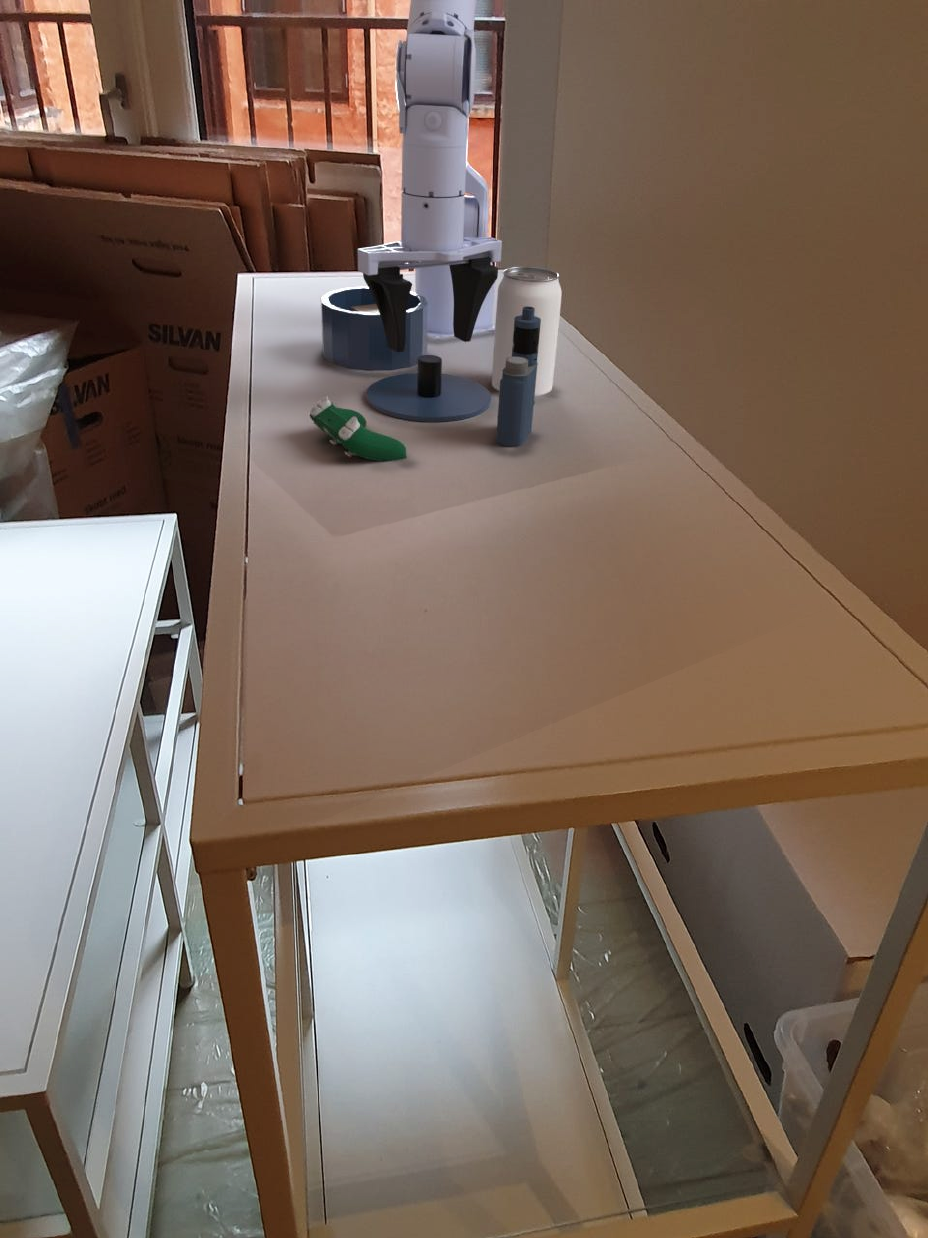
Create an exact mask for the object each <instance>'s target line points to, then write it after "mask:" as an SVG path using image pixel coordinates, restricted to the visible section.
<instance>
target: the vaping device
mask: <svg viewBox="0 0 928 1238" xmlns="http://www.w3.org/2000/svg"><path fill="white" fill-rule="evenodd" d="M534 310H535V308H533V307H528V306H527V307H523V310H522V315H520V316H516V317H515V319H514V333H513V345H514V347H513V346H512V357H508V358H506V365H505V368H504V369H503V370H502V372H503V373H502V379H501V380H500V391H499V394H498V407H497V420H496V421H497V422H496V437H495V438H496V439H495V440H496V442H497V444H498V445H500V446H503V447H507V448H518V447H521V446H522V445H523V444H524V443H525V441H526V440H527V439H528V437H529V436H530V435H531V433H532V426H533V418H534V417H533V416H534V415H533V414H534V406H535V403H536V402H535V397H536V396H535V385H536V374H537V364H538V362H537V357H538V349H537V347H539V336H540V325H541V319H540V318H539V317H536V316H534Z"/></svg>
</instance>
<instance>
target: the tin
mask: <svg viewBox="0 0 928 1238" xmlns="http://www.w3.org/2000/svg"><path fill="white" fill-rule="evenodd" d="M370 304H376V302H375V300H374V298H373V295H372V293H371V291H370V289H369V287H368V286H352V287H344V288H338V289H335V290H331V291H327V292H326V293H325V294H324V295H322V296H321V297H320V318H321V319H320V321H321V341H322V344H321V345H322V346H321V347H322V354H323V355H322V356H323V359H326V360H327V361H328V362H329V363H331V364H333V365H336V366H339V367H342V368H346V369H351V370H359V371H366V372H367V371H368V372H380V371H381V372H383V371H386V372H387V371H389V372H391V371H395V370H402V369H403V370H404V369H409V368H411V367H414V366H416V365H417V366H418V357H420V356H423V355H428V336H427V323H428V302H427V301H426V299H425V297H423V296H421V295H419V294H417V293H415V291H412V290H411V291H410V295H409V300H408V305H407V313H406V342H405V349H404V352H396V351H394V350H392V349H391V348H389V347H388V345H387V340H386V335H385V330H384V326H383V323H382V319H381V316H380V313H364V312H354V311H350V307H354V306H362V305H370Z"/></svg>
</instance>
